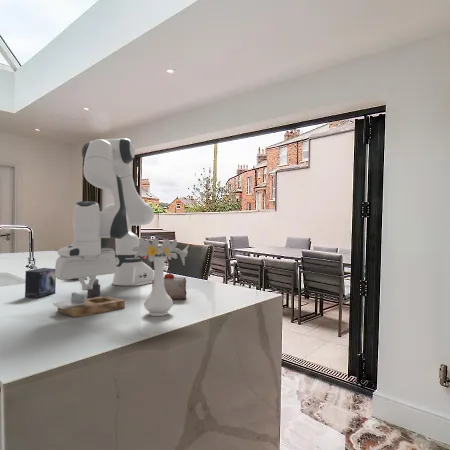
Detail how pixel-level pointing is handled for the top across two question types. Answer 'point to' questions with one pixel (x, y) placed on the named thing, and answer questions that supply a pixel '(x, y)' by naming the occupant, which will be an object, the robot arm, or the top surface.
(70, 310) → the socket
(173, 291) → the food item
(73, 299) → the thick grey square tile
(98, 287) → the bottle
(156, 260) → the flower vase
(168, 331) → the top surface
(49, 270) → the small box
